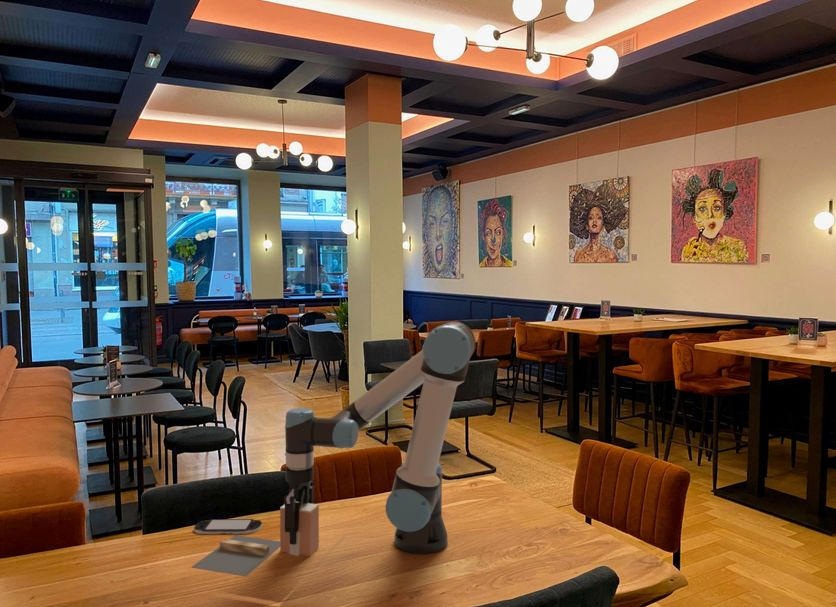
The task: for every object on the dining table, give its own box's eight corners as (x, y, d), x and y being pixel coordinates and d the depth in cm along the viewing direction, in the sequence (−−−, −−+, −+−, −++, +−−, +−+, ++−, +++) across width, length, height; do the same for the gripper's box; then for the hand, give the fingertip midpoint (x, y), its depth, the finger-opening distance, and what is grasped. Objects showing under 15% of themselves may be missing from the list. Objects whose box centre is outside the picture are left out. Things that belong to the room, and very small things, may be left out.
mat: (285, 545, 168) (285, 542, 168) (246, 579, 149) (246, 576, 149) (235, 537, 173) (235, 535, 173) (191, 570, 153) (191, 567, 153)
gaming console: (190, 538, 173) (190, 530, 173) (200, 525, 182) (200, 517, 182) (257, 538, 174) (257, 529, 173) (264, 525, 182) (264, 516, 182)
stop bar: (269, 552, 162) (269, 545, 162) (265, 555, 160) (265, 548, 160) (224, 545, 166) (224, 538, 166) (220, 549, 164) (219, 541, 164)
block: (318, 550, 165) (318, 504, 164) (310, 558, 160) (310, 511, 159) (289, 546, 167) (289, 500, 167) (280, 554, 163) (280, 507, 162)
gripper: (302, 455, 172) (302, 534, 173) (270, 475, 155) (270, 563, 156) (326, 457, 170) (326, 537, 171) (296, 478, 153) (296, 567, 154)
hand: (299, 549), depth 164 cm, fingers closed on block, 5 cm apart
